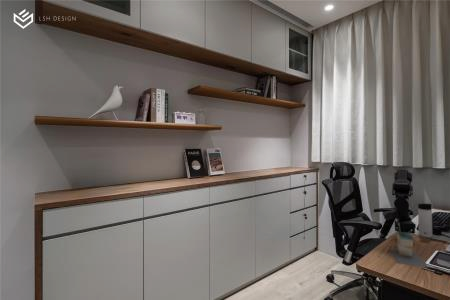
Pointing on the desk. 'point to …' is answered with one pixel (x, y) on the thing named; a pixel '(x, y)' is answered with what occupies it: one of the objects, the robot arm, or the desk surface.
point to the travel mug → (425, 220)
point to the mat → (408, 259)
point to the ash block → (405, 243)
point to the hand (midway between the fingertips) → (402, 237)
